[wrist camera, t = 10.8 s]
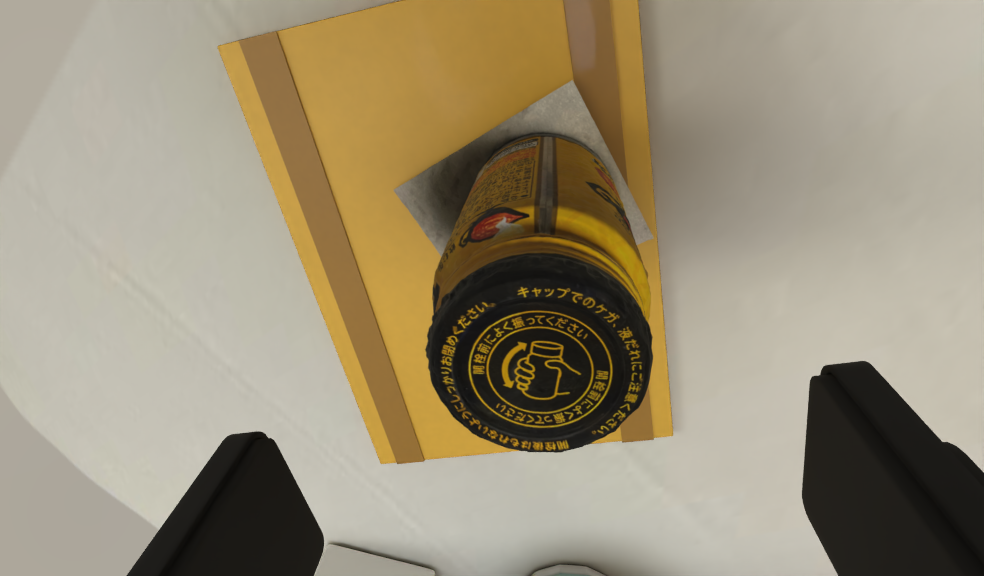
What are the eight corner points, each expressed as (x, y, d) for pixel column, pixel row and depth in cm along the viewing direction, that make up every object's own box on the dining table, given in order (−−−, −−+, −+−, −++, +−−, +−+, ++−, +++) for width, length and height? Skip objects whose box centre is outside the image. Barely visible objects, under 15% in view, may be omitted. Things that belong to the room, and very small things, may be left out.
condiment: (653, 235, 23) (740, 430, 12) (484, 318, 26) (436, 536, 15) (572, 78, 20) (594, 150, 10) (395, 187, 23) (260, 337, 12)
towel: (222, 45, 21) (215, 46, 21) (632, -56, 19) (634, -58, 18) (382, 459, 31) (380, 465, 30) (671, 430, 28) (673, 437, 28)
